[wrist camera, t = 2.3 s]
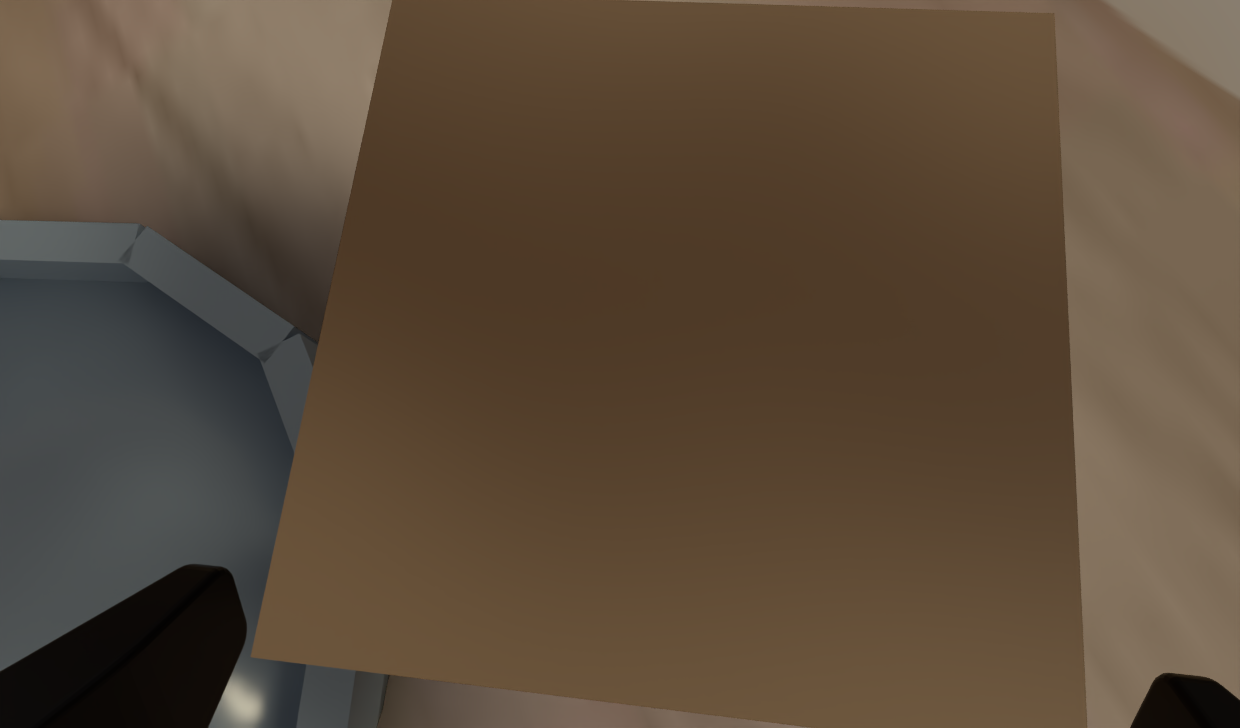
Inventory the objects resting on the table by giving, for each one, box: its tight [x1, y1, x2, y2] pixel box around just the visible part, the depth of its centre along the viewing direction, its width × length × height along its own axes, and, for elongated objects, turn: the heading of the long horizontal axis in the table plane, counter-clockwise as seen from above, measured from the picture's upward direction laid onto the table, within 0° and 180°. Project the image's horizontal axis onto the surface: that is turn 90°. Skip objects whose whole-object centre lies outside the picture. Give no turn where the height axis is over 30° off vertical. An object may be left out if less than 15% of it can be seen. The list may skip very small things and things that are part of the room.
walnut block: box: [251, 0, 1087, 728], centre depth 12 cm, size 5×5×13 cm
